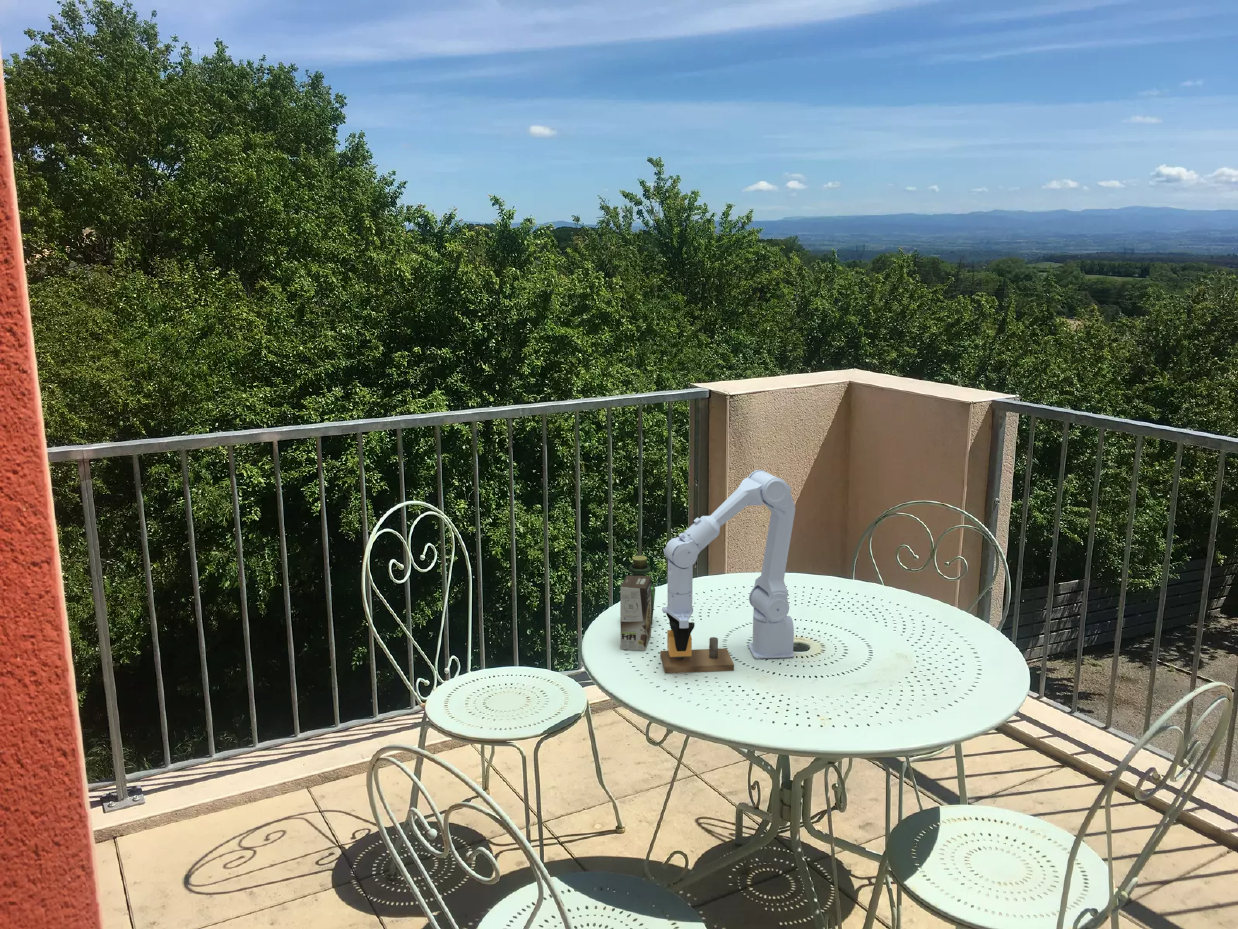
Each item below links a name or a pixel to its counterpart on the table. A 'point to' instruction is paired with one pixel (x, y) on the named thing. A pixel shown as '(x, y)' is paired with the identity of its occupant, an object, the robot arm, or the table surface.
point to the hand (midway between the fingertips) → (679, 645)
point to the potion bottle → (642, 569)
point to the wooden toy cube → (672, 647)
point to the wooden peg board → (699, 660)
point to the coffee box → (635, 612)
